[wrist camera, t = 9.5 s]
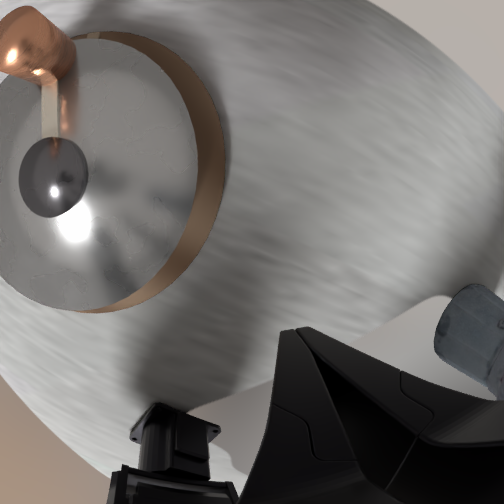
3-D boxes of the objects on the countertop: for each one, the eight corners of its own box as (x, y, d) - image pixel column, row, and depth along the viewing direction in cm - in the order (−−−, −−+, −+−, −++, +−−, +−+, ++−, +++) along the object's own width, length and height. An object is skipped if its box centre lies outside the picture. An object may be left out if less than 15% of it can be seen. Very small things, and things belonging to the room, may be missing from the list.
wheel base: (133, 349, 20) (130, 359, 19) (-41, 221, 14) (-50, 224, 13) (283, 130, 17) (289, 128, 16) (69, 5, 12) (63, -2, 10)
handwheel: (211, 281, 18) (219, 346, 11) (11, 301, 16) (-38, 351, 9) (190, 23, 13) (186, -42, 7) (-18, 87, 11) (-79, 75, 5)
